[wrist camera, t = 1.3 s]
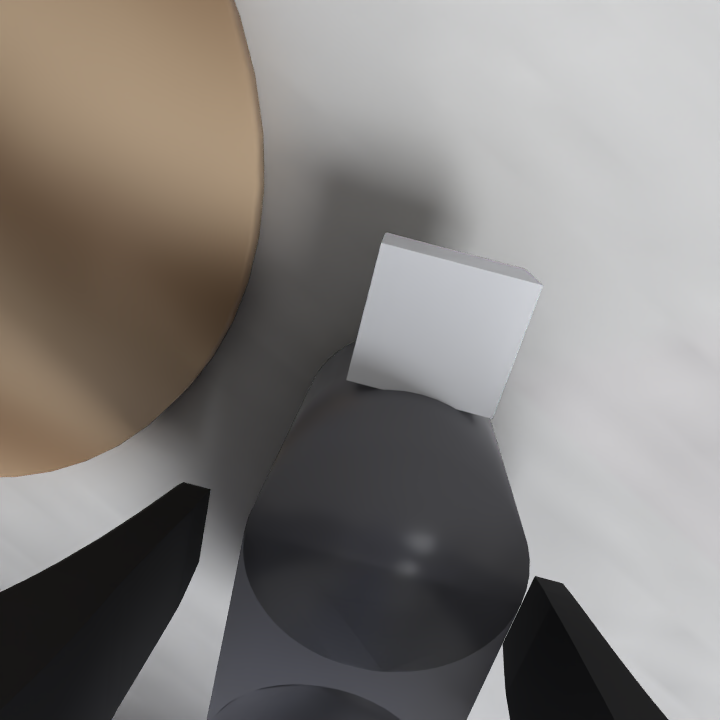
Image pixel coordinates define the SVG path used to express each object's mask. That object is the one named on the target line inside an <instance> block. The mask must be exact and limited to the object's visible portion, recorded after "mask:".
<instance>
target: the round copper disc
mask: <svg viewBox="0 0 720 720" xmlns="http://www.w3.org/2000/svg"><path fill="white" fill-rule="evenodd" d="M263 194H264V151H263V129H262V121H261V114H260V107H259V100H258V92H257V85H256V78H255V73H254V69H253V65H252V61H251V57H250V54H249V50H248V46H247V42H246V38H245V34H244V30H243V26H242V22H241V18H240V15H239V12H238V10H237V7H236V4H235V2H234V0H0V477H18V476H25V475H31V474H38V473H44V472H51V471H54V470H58V469H61V468H64V467H68V466H71V465H74V464H78V463H81V462H84V461H87V460H89V459H91V458H93V457H95V456H98V455H100V454H102V453H104V452H106V451H108V450H110V449H112V448H115V447H117V446H119V445H120V444H122V443H123V442H125V441H126V440H128V439H129V438H130V437H132V436H133V435H135V434H136V433H138V432H139V431H141V430H142V429H144V428H145V427H147V426H148V425H149V424H150V423H152V422H153V421H154V420H155V419H156V418H157V417H158V416H159V415H160V414H161V413H162V412H163V411H164V410H165V409H167V408H168V407H169V406H170V405H171V404H172V403H173V402H174V401H175V400H176V399H177V398H178V397H179V396H180V395H181V394H182V393H183V392H184V391H185V390H186V389H187V388H188V387H189V386H190V385H191V384H192V383H193V382H194V380H195V379H196V378H197V376H198V375H199V374H200V373H201V371H202V370H203V369H204V367H205V366H206V365H207V364H208V362H209V361H210V360H211V359H212V357H213V356H214V354H215V352H216V351H217V349H218V347H219V345H220V344H221V342H222V340H223V338H224V336H225V335H226V333H227V331H228V329H229V328H230V326H231V324H232V322H233V320H234V318H235V315H236V312H237V310H238V307H239V305H240V302H241V300H242V297H243V294H244V292H245V289H246V287H247V284H248V281H249V277H250V273H251V269H252V265H253V260H254V256H255V252H256V248H257V243H258V239H259V233H260V223H261V214H262V204H263Z"/></svg>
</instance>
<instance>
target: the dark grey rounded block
mask: <svg viewBox="0 0 720 720" xmlns="http://www.w3.org/2000/svg"><path fill="white" fill-rule="evenodd" d="M542 288H543V285H542V284H541V283H540V282H539V281H538V280H537V279H536V278H535V277H534V276H533V275H532V274H531V273H529V272H528V271H527V270H526V269H524V268H520V267H517V266H513V265H509V264H505V263H501V262H497V261H494V260H490V259H486V258H482V257H478V256H475V255H471V254H467V253H463V252H459V251H456V250H452V249H448V248H444V247H440V246H437V245H433V244H429V243H425V242H421V241H418V240H414V239H410V238H406V237H402V236H399V235H395V234H391V233H387V232H386V233H385V235H384V238H383V240H382V242H381V246H380V250H379V253H378V257H377V261H376V265H375V269H374V273H373V277H372V281H371V285H370V289H369V293H368V297H367V301H366V304H365V308H364V312H363V316H362V320H361V324H360V328H359V332H358V336H357V340H356V342H354V343H352V344H350V345H348V346H346V347H344V348H343V349H341V350H340V351H338V352H337V353H336V354H334V355H333V356H332V357H331V358H330V359H328V361H327V362H326V363H325V364H324V365H323V366H322V367H321V369H320V370H319V372H318V373H317V375H316V376H315V378H314V380H313V382H312V384H311V386H310V388H309V390H308V393H307V395H306V397H305V399H304V401H303V403H302V405H301V407H300V409H299V411H298V414H297V416H296V418H295V420H294V422H293V424H292V426H291V428H290V430H289V432H288V435H287V437H286V439H285V441H284V443H283V445H282V447H281V449H280V451H279V453H278V456H277V458H276V460H275V462H274V464H273V466H272V468H271V470H270V472H269V475H268V477H267V479H266V481H265V483H264V485H263V487H262V489H261V491H260V493H259V496H258V498H257V500H256V502H255V504H254V506H253V508H252V510H251V512H250V515H249V517H248V521H247V524H246V527H245V531H244V536H243V541H242V546H241V551H240V556H239V561H238V566H237V571H236V576H235V581H234V586H233V591H232V596H231V601H230V606H229V611H228V616H227V621H226V626H225V631H224V636H223V641H222V646H221V651H220V656H219V661H218V666H217V671H216V676H215V681H214V686H213V691H212V696H211V701H210V706H209V711H208V716H207V720H467V717H468V715H469V713H470V711H471V709H472V707H473V705H474V703H475V701H476V698H477V696H478V694H479V692H480V690H481V688H482V686H483V684H484V681H485V679H486V677H487V675H488V673H489V671H490V669H491V667H492V665H493V662H494V660H495V658H496V656H497V654H498V652H499V650H500V648H501V645H502V643H503V641H504V639H505V637H506V635H507V633H508V631H509V628H510V626H511V624H512V622H513V620H514V618H515V616H516V614H517V612H518V609H519V607H520V605H521V603H522V600H523V597H524V595H525V592H526V589H527V584H528V579H529V564H530V559H529V552H528V545H527V541H526V538H525V534H524V531H523V527H522V524H521V521H520V517H519V514H518V511H517V507H516V504H515V501H514V497H513V494H512V490H511V487H510V484H509V480H508V477H507V474H506V470H505V467H504V464H503V460H502V457H501V453H500V450H499V447H498V443H497V440H496V437H495V433H494V430H493V427H492V423H491V420H490V418H491V419H493V417H494V414H495V411H496V409H497V406H498V404H499V401H500V398H501V396H502V393H503V390H504V388H505V385H506V382H507V380H508V377H509V375H510V372H511V369H512V367H513V364H514V361H515V359H516V356H517V353H518V351H519V348H520V346H521V343H522V340H523V338H524V335H525V332H526V330H527V327H528V325H529V322H530V319H531V317H532V314H533V311H534V309H535V306H536V303H537V301H538V298H539V296H540V293H541V290H542Z"/></svg>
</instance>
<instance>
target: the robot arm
mask: <svg viewBox="0 0 720 720" xmlns="http://www.w3.org/2000/svg"><path fill="white" fill-rule="evenodd" d="M209 496H210V489H207V488H203V487H199V486H195V485H192V484H188V483H184V482H183V483H181V484H179V485H177V486H176V487H175V488H173V489H172V490H170V491H169V492H168V493H166V494H165V495H163V496H162V497H160V498H159V499H158V500H156V501H155V502H153V503H152V504H151V505H149V506H148V507H146V508H145V509H143V510H142V511H140V512H139V513H137V514H136V515H134V516H133V517H132V518H130V519H128V520H127V521H125V522H124V523H122V524H121V525H119V526H118V527H116V528H115V529H113V530H111V531H110V532H108V533H107V534H105V535H104V536H102V537H101V538H99V539H97V540H96V541H94V542H92V543H91V544H89V545H87V546H86V547H84V548H82V549H80V550H79V551H77V552H75V553H74V554H72V555H70V556H68V557H67V558H65V559H63V560H62V561H60V562H58V563H56V564H55V565H53V566H51V567H49V568H47V569H45V570H43V571H42V572H40V573H38V574H36V575H34V576H32V577H30V578H28V579H26V580H24V581H22V582H20V583H18V584H16V585H14V586H12V587H10V588H8V589H6V590H4V591H2V592H0V720H111V719H112V718H113V716H114V714H115V712H116V710H117V709H118V707H119V705H120V704H121V702H122V700H123V699H124V697H125V695H126V694H127V692H128V690H129V689H130V687H131V685H132V684H133V682H134V680H135V679H136V677H137V675H138V674H139V672H140V670H141V669H142V667H143V665H144V664H145V662H146V660H147V659H148V657H149V655H150V654H151V652H152V650H153V649H154V647H155V645H156V644H157V642H158V640H159V639H160V637H161V635H162V634H163V632H164V630H165V629H166V627H167V625H168V624H169V622H170V620H171V619H172V617H173V615H174V613H175V612H176V610H177V608H178V607H179V604H180V602H181V600H182V598H183V596H184V594H185V592H186V589H187V587H188V585H189V583H190V581H191V578H192V576H193V574H194V572H195V570H196V567H197V565H198V563H199V558H200V552H201V545H202V539H203V533H204V527H205V521H206V515H207V509H208V502H209ZM503 658H504V676H505V689H506V698H507V704H508V710H509V715H510V720H668V719H667V717H666V716H665V715H664V714H663V713H662V711H661V710H660V709H659V708H658V707H657V705H656V704H655V703H654V702H653V701H652V699H651V698H650V697H649V696H648V694H647V693H646V692H645V691H644V689H643V688H642V687H641V686H640V684H639V683H638V682H637V681H636V679H635V678H634V677H633V675H632V674H631V673H630V672H629V670H628V669H627V668H626V666H625V665H624V664H623V662H622V661H621V660H620V659H619V657H618V656H617V655H616V653H615V652H614V651H613V649H612V648H611V647H610V645H609V644H608V643H607V641H606V640H605V639H604V637H603V636H602V635H601V633H600V632H599V631H598V629H597V628H596V626H595V625H594V624H593V622H592V621H591V620H590V618H589V617H588V616H587V614H586V613H585V612H584V610H583V609H582V608H581V606H580V605H579V604H578V602H577V601H576V600H575V598H574V597H573V596H572V594H571V593H570V592H569V591H568V589H567V588H566V587H565V586H564V584H563V583H559V582H555V581H552V580H548V579H544V578H540V577H537V576H535V577H534V579H533V581H532V584H531V586H530V588H529V590H528V592H527V594H526V596H525V598H524V600H523V602H522V605H521V607H520V609H519V611H518V613H517V615H516V617H515V619H514V621H513V623H512V625H511V628H510V630H509V632H508V634H507V636H506V638H505V640H504V642H503Z"/></svg>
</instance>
